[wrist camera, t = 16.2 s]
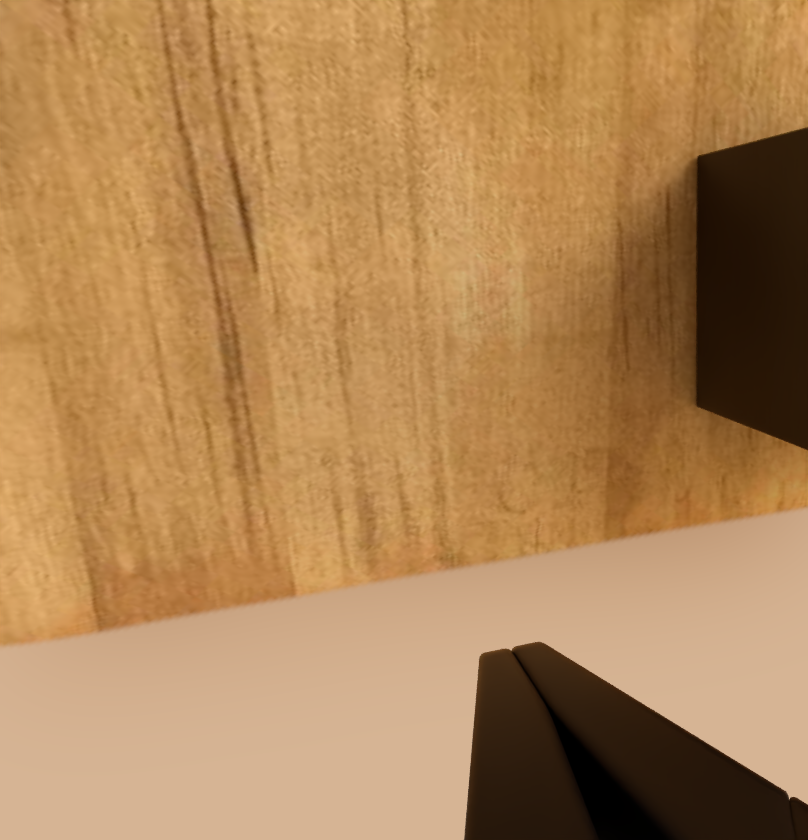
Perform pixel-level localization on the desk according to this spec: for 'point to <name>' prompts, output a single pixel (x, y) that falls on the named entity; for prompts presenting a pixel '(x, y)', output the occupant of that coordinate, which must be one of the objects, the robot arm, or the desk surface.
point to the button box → (754, 285)
